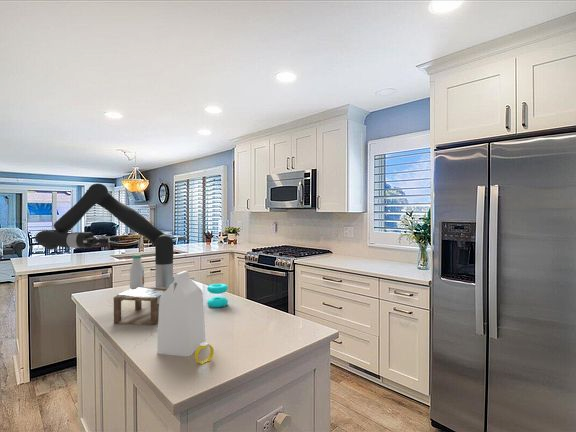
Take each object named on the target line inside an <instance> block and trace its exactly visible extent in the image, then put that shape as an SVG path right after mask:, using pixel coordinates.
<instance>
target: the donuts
mask: <svg viewBox="0 0 576 432" xmlns="http://www.w3.org/2000/svg"><path fill="white" fill-rule="evenodd" d="M206 289H207V292H209V293H210V294H215V295H219V294H220V295H221V294H223V293H225V292H227V291H228V289H229V287H228V285H227V284H225V283H212V284H209V285H208V286H207V288H206ZM228 303H229V299H227V298H226V297H224V296H213V297H211V298H209V299H208V300H207V303H206V304H207V306H208V307H210V308H223V307H225V306H227V305H228Z"/></svg>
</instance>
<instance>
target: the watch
mask: <svg viewBox="0 0 576 432" xmlns="http://www.w3.org/2000/svg"><path fill="white" fill-rule="evenodd" d="M208 347H209V349H210V352H209V354H208V357H207V358H206V359H204V360H201V361H199V354H200V351H201V350H202V349H205V348H208ZM213 356H214V347H213V346H212V344H210V343H209V341H206V342H202V343H200V346H199V347H198V348H197V350H196V351H195V352H194V360H195V361H196V363H198V364H200V365H203V364H202V363H204V364H206V363H208V362H207V361H209V362H210V361H211V360H212V359H213ZM205 361H206V363H205Z"/></svg>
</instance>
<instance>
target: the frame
mask: <svg viewBox="0 0 576 432" xmlns="http://www.w3.org/2000/svg"><path fill="white" fill-rule="evenodd" d="M137 288H139V287H136V288H135V289H137ZM141 288H148V289H155V290H162V291H166V290H167V289H168V288H156V287H147V286H144V287H141ZM121 300H123V301H134V305H135V306H134V310H132V311H130V312H129V313H126V314H125V315H123V316H122V301H121ZM158 300H159V298H158V297H131V296H117V295H116V296H113V324H119V325H120V324H121V325H122V324H123V325H145V326H146V325H149V326H155V325H156V326H157V325H158V319H159V317H158V304H159V302H158ZM143 301H144V302H150V308H142V307H143V305H142V304H143V303H142V302H143Z"/></svg>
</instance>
